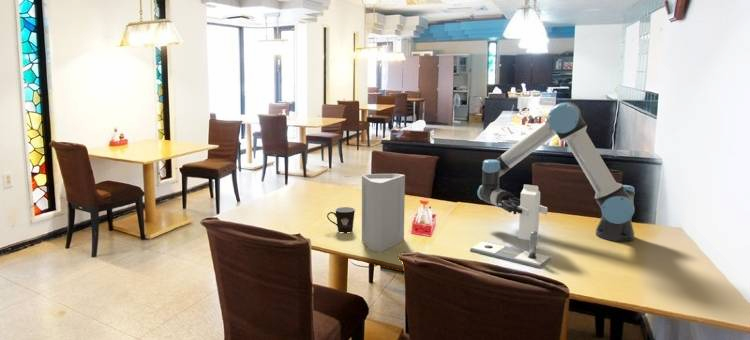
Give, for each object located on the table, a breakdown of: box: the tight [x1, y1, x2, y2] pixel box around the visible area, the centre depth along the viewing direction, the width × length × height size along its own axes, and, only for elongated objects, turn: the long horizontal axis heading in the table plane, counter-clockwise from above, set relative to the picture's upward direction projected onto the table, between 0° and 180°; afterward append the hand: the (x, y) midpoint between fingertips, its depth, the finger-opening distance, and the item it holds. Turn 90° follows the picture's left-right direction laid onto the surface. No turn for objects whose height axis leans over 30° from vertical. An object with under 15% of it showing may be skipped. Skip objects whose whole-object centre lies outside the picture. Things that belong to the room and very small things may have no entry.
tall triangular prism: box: [361, 173, 406, 253], centre depth 205 cm, size 19×15×28 cm
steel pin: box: [528, 231, 538, 258], centre depth 187 cm, size 2×2×10 cm
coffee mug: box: [326, 206, 356, 234], centre depth 222 cm, size 12×9×10 cm
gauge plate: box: [469, 240, 552, 269], centre depth 194 cm, size 28×12×1 cm, turn 51°
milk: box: [518, 184, 541, 242], centre depth 200 cm, size 6×6×22 cm
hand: (537, 212), depth 195 cm, fingers closed on milk, 8 cm apart
